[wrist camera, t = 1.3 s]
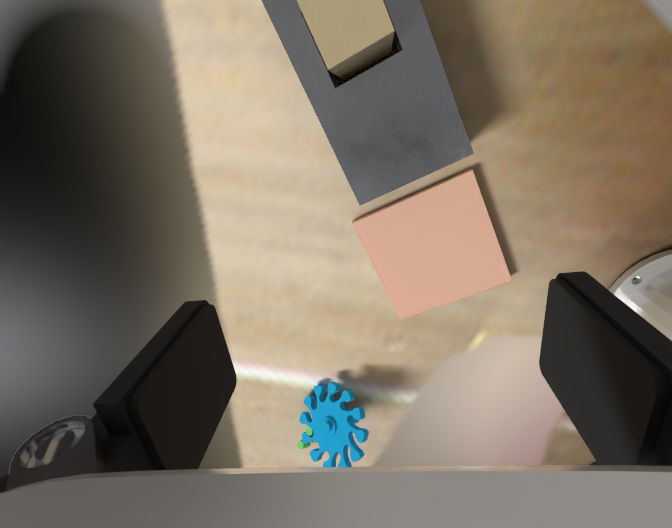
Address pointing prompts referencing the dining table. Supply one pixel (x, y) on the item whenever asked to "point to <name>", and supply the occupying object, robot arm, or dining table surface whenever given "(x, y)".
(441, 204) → the terracotta tile
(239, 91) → the dining table surface
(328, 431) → the gear
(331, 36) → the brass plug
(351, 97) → the grey block with hole
